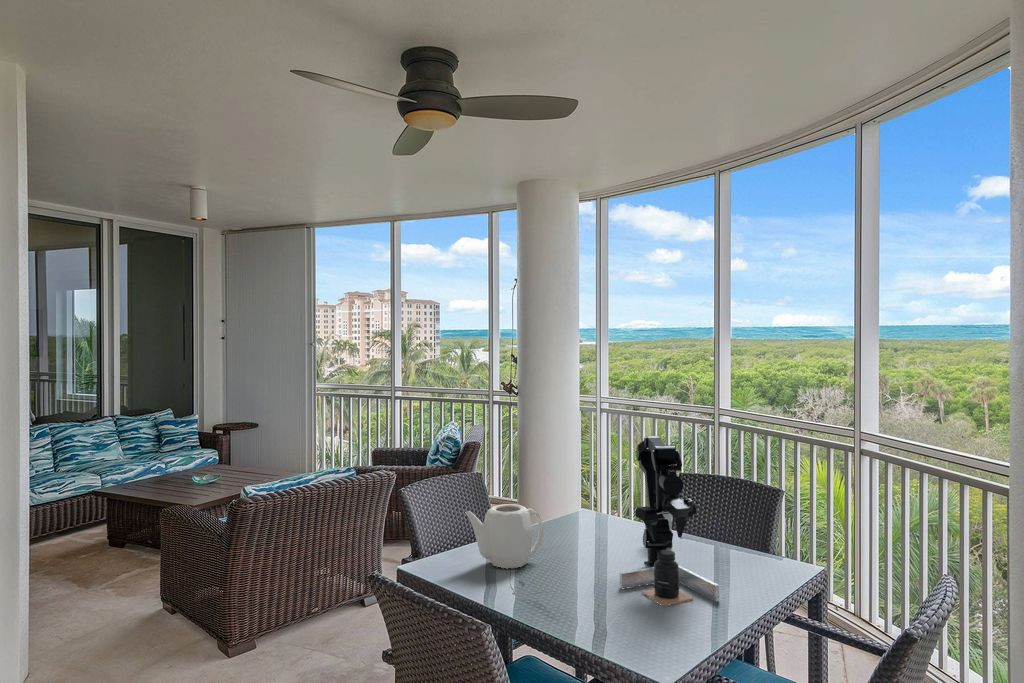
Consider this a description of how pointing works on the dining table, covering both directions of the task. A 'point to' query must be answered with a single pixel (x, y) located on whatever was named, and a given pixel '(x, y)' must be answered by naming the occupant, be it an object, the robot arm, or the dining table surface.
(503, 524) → the white teapot
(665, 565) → the supplement bottle
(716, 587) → the corner walls
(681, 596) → the terracotta tile
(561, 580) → the dining table surface
